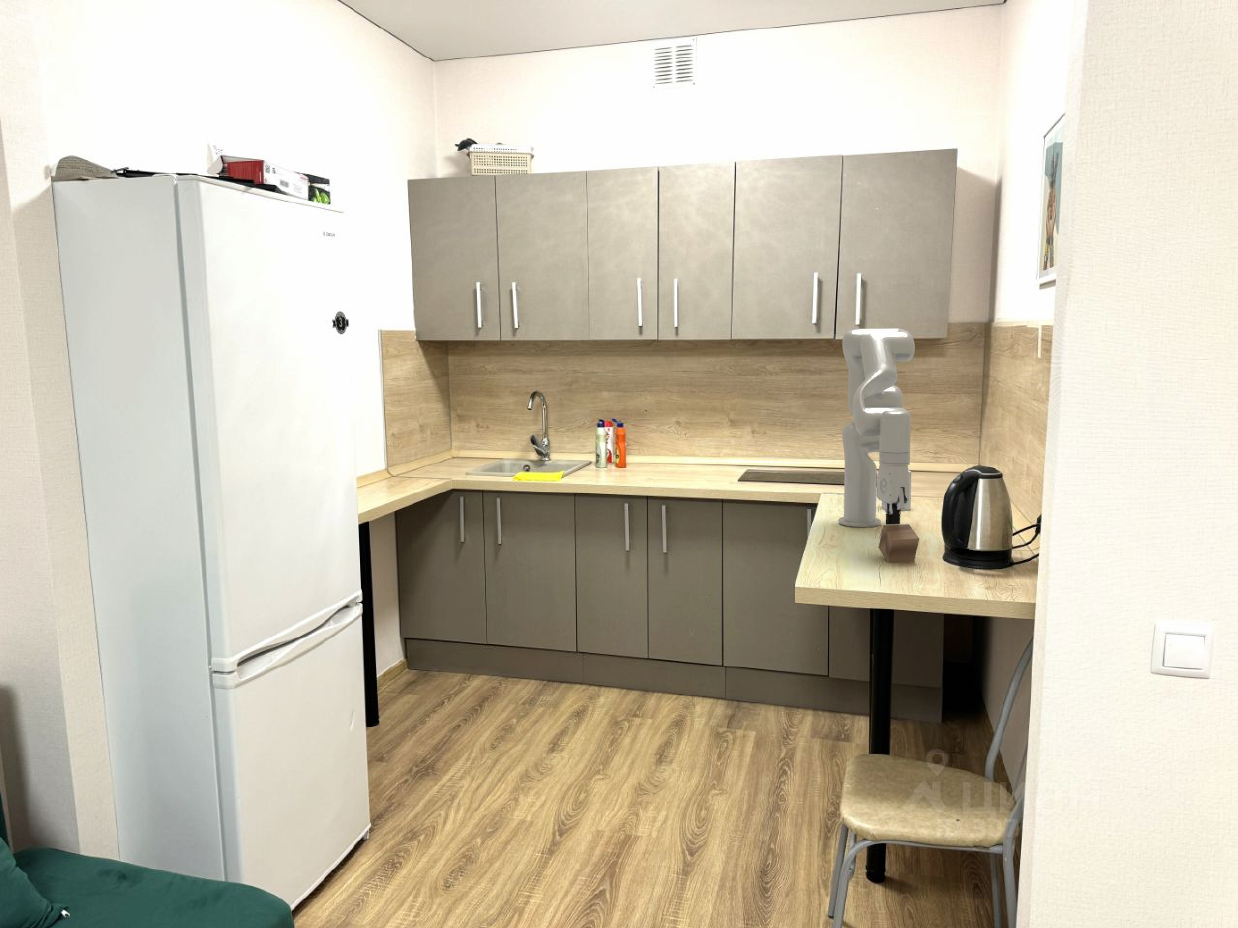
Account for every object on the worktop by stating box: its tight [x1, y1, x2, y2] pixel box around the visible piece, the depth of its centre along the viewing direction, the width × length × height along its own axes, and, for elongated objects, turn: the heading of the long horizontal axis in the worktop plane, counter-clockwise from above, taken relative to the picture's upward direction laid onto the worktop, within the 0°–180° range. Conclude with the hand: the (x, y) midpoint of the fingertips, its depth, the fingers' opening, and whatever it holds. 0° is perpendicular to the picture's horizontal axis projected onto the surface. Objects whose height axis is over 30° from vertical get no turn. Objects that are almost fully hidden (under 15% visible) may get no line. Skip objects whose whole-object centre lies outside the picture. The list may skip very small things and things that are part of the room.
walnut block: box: [877, 523, 920, 563], centre depth 225 cm, size 7×7×7 cm
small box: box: [881, 469, 912, 511], centre depth 293 cm, size 8×6×13 cm
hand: (892, 528), depth 228 cm, fingers closed
